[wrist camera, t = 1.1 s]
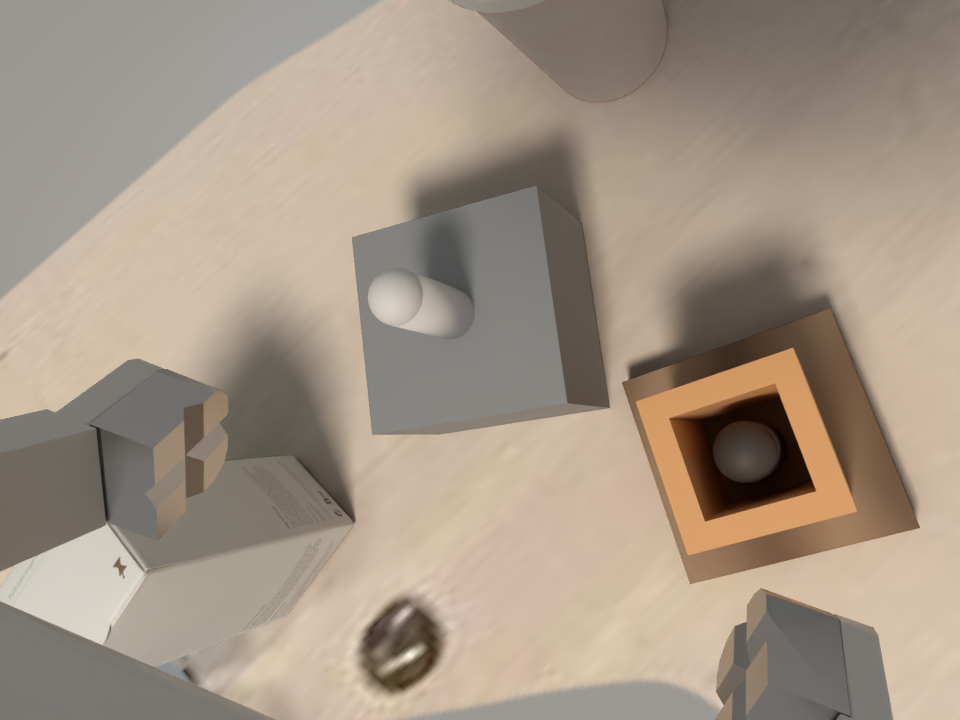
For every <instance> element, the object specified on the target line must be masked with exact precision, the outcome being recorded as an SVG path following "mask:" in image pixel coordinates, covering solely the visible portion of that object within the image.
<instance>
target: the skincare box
mask: <svg viewBox="0 0 960 720" xmlns="http://www.w3.org/2000/svg"><path fill="white" fill-rule="evenodd" d="M353 524H354V523H353V521H352V520H351V519H350V517H349V516H348V515H347V514H346V513H345V512H344V511H343V510H342V509H341V508H340V506H339V505H338V504H337V503H336V502H335V501H334V500H333V499H332V498H331V497H330V495H329V494H328V493H327V492H326V491H325V490H324V489H323V488H322V487H321V486H320V485H319V483H318V482H317V481H316V480H315V479H314V478H313V477H312V476H311V475H310V474H309V473H308V472H307V471H306V469H305V468H304V467H303V466H302V465H301V464H300V463H299V462H298V461H297V460H296V458H295V457H294V456H293V455H285V456H276V457H262V458H252V459H241V460H230V461H224V464H223V466H222V468H221V470H220V471H219V473H218V475H217V477H216V479H215V480H214V481H213V483H212V484H211V485H210V486H209V487H208V488H207V489H206V490H205V492H203V493H200V494H198V495H195V496H192V497H189V498H186V512H185V513H184V514H183V515H182V516H181V517H180V518H179V519H178V521H177V522H176V523H175V524H174V525H173V526H172V527H171V528H170V529H169V530H168V531H167V532H166V533H165V534H164V535H163V536H162V538H161V539H160V540H159V541H156V540H153V539H150V538H148V537H145V536H142V535H140V534H137V533H134V532H131V531H129V530H126V529H123V528H121V527H118V526H115V525H112V524H110V523H107V522H106V526H103V527H101V528H99V529H97V530H94V531H92V532H90V533H87V534H85V535H83V536H81V537H78V538H76V539H74V540H71V541H69V542H67V543H64V544H62V545H60V546H58V547H55V548H53V549H51V550H48V551H46V552H44V553H41V554H39V555H37V556H35V557H32V558H30V559H28V560H25V561H23V562H21V563H18V564H16V565H14V567H13V569H12V570H11V572H10V573H9V575H8V576H7V578H6V580H5V581H4V583H3V584H2V586H1V588H0V601H1V602H3V603H6V604H8V605H10V606H13V607H15V608H17V609H20V610H22V611H24V612H27V613H29V614H31V615H34V616H36V617H38V618H41V619H43V620H45V621H48V622H50V623H52V624H55V625H57V626H59V627H61V628H64V629H66V630H68V631H71V632H73V633H75V634H78V635H80V636H82V637H85V638H87V639H89V640H92V641H94V642H96V643H99V644H101V645H103V646H106V647H108V648H110V649H113V650H115V651H117V652H120V653H122V654H124V655H127V656H129V657H131V658H134V659H136V660H138V661H141V662H143V663H145V664H148V665H150V666H152V667H157V666H159V665H162V664H165V663H167V662H170V661H172V660H175V659H177V658H180V657H183V656H185V655H188V654H190V653H193V652H195V651H198V650H201V649H203V648H206V647H209V646H211V645H214V644H216V643H219V642H221V641H224V640H226V639H229V638H232V637H234V636H237V635H239V634H242V633H245V632H247V631H250V630H252V629H255V628H258V627H260V626H263V625H266V624H268V623H271V622H273V621H276V620H279V619H282V618H284V617H286V616H287V614H288V613H289V612H290V610H291V609H292V608H293V606H294V605H295V604H296V602H297V601H298V600H299V598H300V597H301V596H302V594H303V593H304V592H305V590H306V589H307V588H308V586H309V585H310V584H311V582H312V581H313V580H314V578H315V577H316V575H317V574H318V573H319V571H320V570H321V569H322V567H323V566H324V565H325V563H326V562H327V561H328V559H329V558H330V557H331V555H332V554H333V553H334V551H335V550H336V548H337V547H338V546H339V544H340V543H341V542H342V540H343V539H344V538H345V536H346V535H347V533H348V532H349V531H350V529H351V528H352V526H353Z"/></svg>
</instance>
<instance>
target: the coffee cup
mask: <svg viewBox="0 0 960 720" xmlns="http://www.w3.org/2000/svg"><path fill="white" fill-rule="evenodd" d="M449 1H450V2H452V3H454V4H456V5H458V6H460V7H463V8H466V9H469V10H473V11H477V12H478V13H479V14H480V15H482V16H483V17H484V18H485V19H486V20H487V21H488V22H489V23H491V24H492V25H493V26H494V27H495V28H496V29H497V30H498V31H499V32H501V33H502V34H503V35H504V36H505V37H506V38H507V39H508V40H509V41H511V42H512V43H513V44H514V45H515V46H516V47H517V48H518V49H519V50H521V51H522V52H523V53H524V54H525V55H526V56H527V57H528V58H529V59H531V60H532V61H533V62H534V63H535V64H536V65H537V66H538V67H539V68H540V69H542V70H543V71H544V72H545V73H546V74H547V75H548V76H549V77H550V78H552V79H553V80H554V81H555V82H556V83H557V84H558V85H559V86H560V87H561V88H563V89H564V90H565V91H566V92H567V93H569V94H570V95H572V96H573V97H575V98H578V99H580V100H584V101H588V102H607V101H612V100H615V99H618V98H621V97H623V96H625V95H627V94H629V93H631V92H633V91H634V90H636V89H637V88H638V87H640V86H641V85H642V84H643V83H644V82H645V81H646V80H647V79H648V78H649V77H650V76H651V75H652V73H653V72H654V71H655V69H656V68H657V66H658V64H659V63H660V61H661V58H662V56H663V54H664V51H665V47H666V43H667V21H666V17H665V12H664V7H663V3H662V0H449Z"/></svg>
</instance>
